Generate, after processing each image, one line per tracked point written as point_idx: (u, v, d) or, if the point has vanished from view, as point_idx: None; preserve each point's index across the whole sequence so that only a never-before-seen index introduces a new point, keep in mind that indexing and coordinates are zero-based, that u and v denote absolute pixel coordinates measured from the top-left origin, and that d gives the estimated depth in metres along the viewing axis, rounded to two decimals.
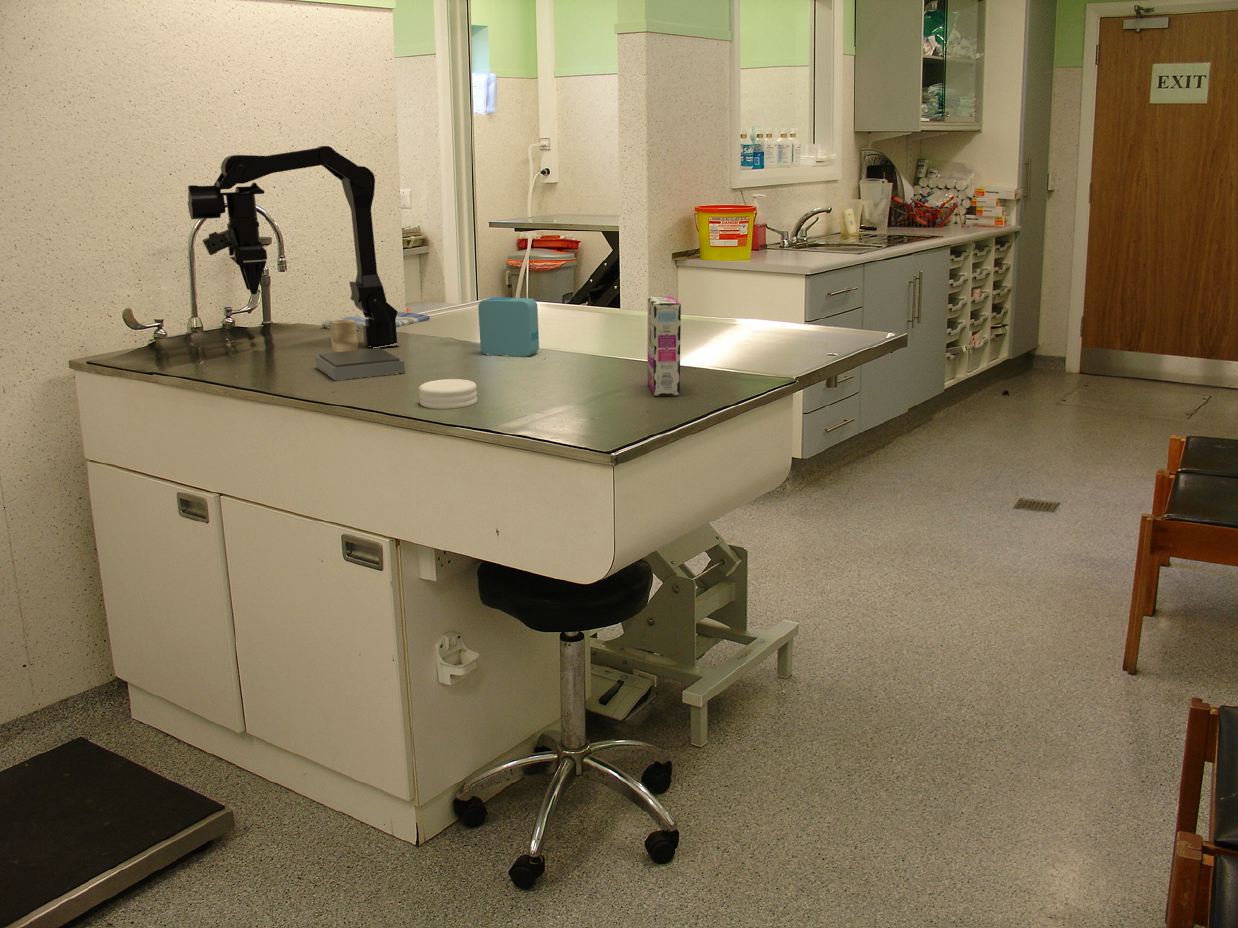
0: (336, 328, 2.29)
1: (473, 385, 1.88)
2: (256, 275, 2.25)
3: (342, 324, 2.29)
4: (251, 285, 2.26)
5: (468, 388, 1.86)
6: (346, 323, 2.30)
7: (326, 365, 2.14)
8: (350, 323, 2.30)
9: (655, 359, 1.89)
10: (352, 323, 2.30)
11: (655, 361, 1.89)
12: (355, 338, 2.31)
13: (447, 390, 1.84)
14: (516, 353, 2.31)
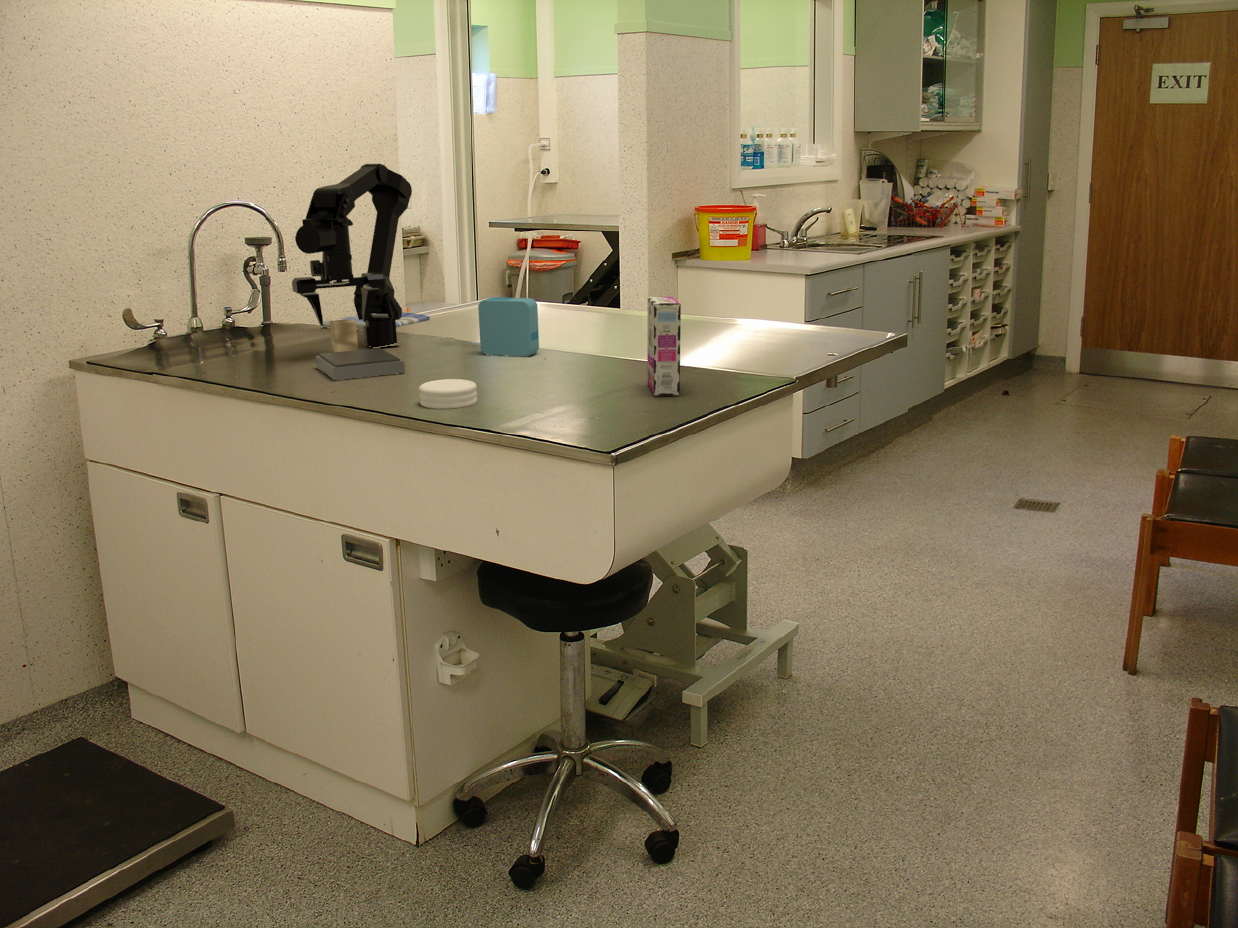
0: (336, 328, 2.29)
1: (473, 385, 1.88)
2: (314, 307, 2.27)
3: (342, 324, 2.29)
4: (316, 316, 2.29)
5: (468, 388, 1.86)
6: (346, 323, 2.30)
7: (326, 365, 2.14)
8: (350, 323, 2.30)
9: (655, 359, 1.89)
10: (352, 323, 2.30)
11: (655, 361, 1.89)
12: (355, 338, 2.31)
13: (447, 390, 1.84)
14: (516, 353, 2.31)
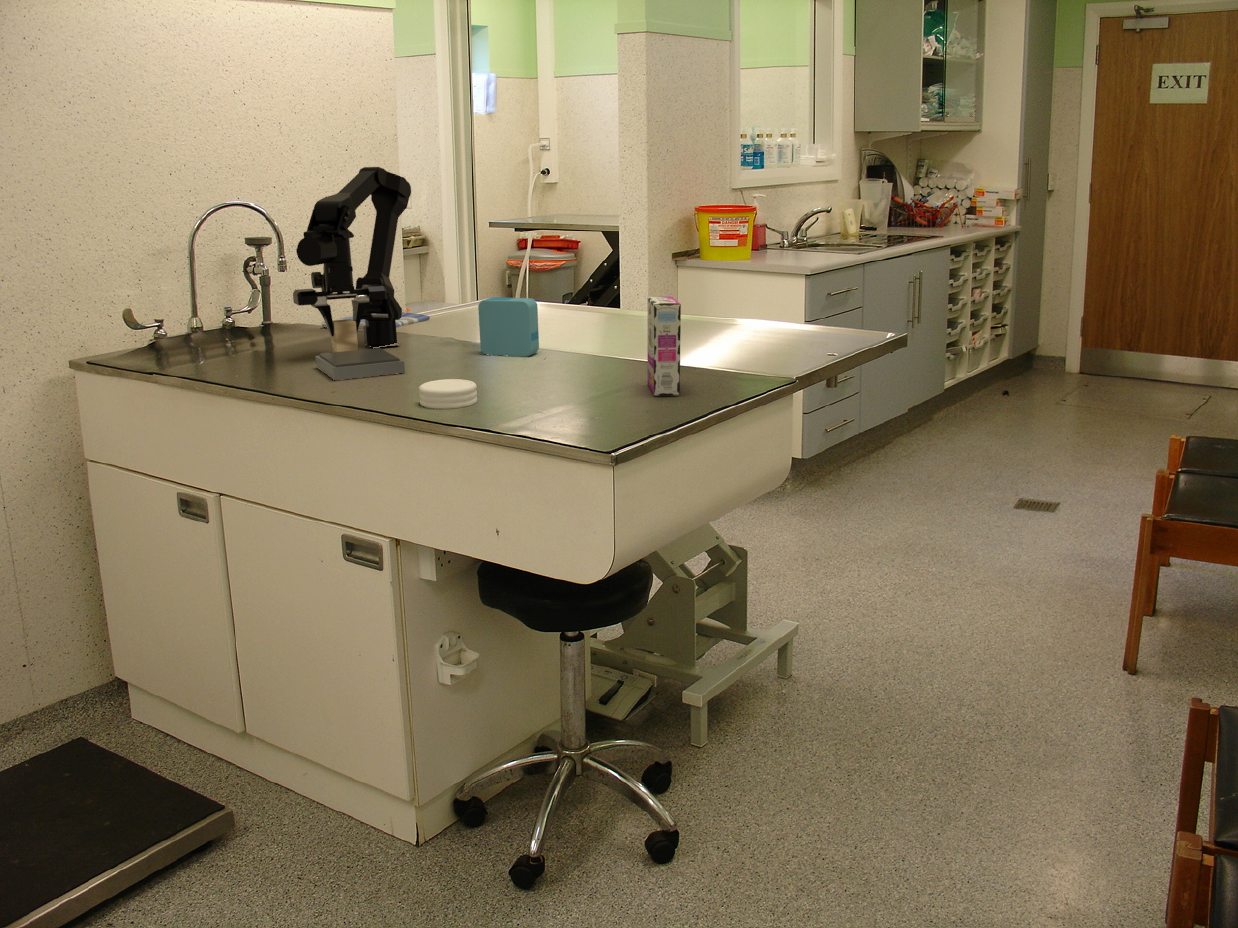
0: (336, 328, 2.29)
1: (473, 385, 1.88)
2: (325, 318, 2.29)
3: (342, 324, 2.29)
4: None
5: (468, 388, 1.86)
6: (346, 323, 2.30)
7: (326, 365, 2.14)
8: (350, 323, 2.30)
9: (655, 359, 1.89)
10: (352, 323, 2.30)
11: (655, 361, 1.89)
12: (355, 338, 2.31)
13: (447, 390, 1.84)
14: (516, 353, 2.31)
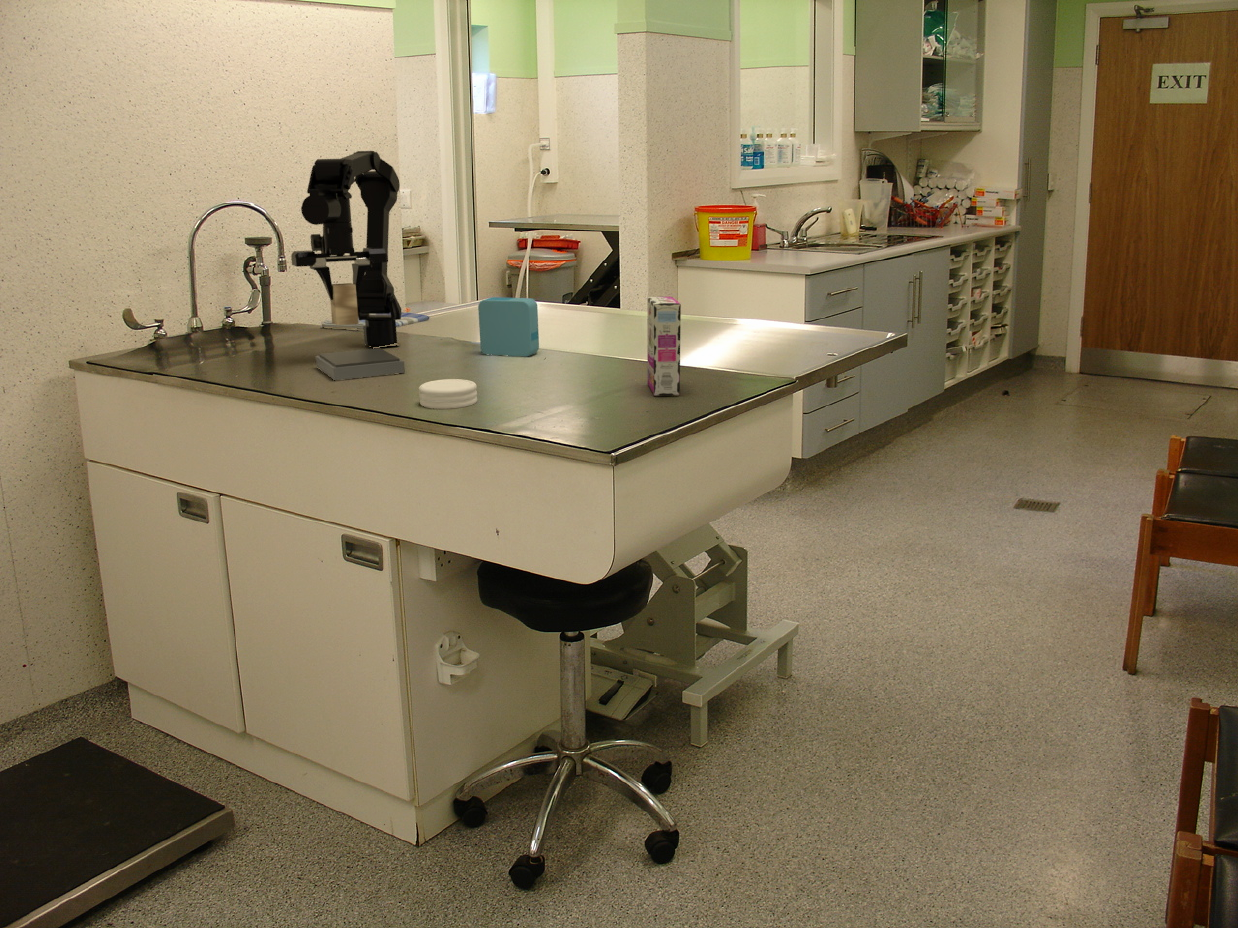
0: (335, 291, 2.22)
1: (473, 385, 1.88)
2: (324, 281, 2.22)
3: (341, 287, 2.23)
4: (326, 290, 2.24)
5: (468, 388, 1.86)
6: (345, 286, 2.23)
7: (326, 365, 2.14)
8: (350, 286, 2.23)
9: (655, 359, 1.89)
10: (352, 286, 2.24)
11: (655, 361, 1.89)
12: (355, 302, 2.25)
13: (447, 390, 1.84)
14: (516, 353, 2.31)
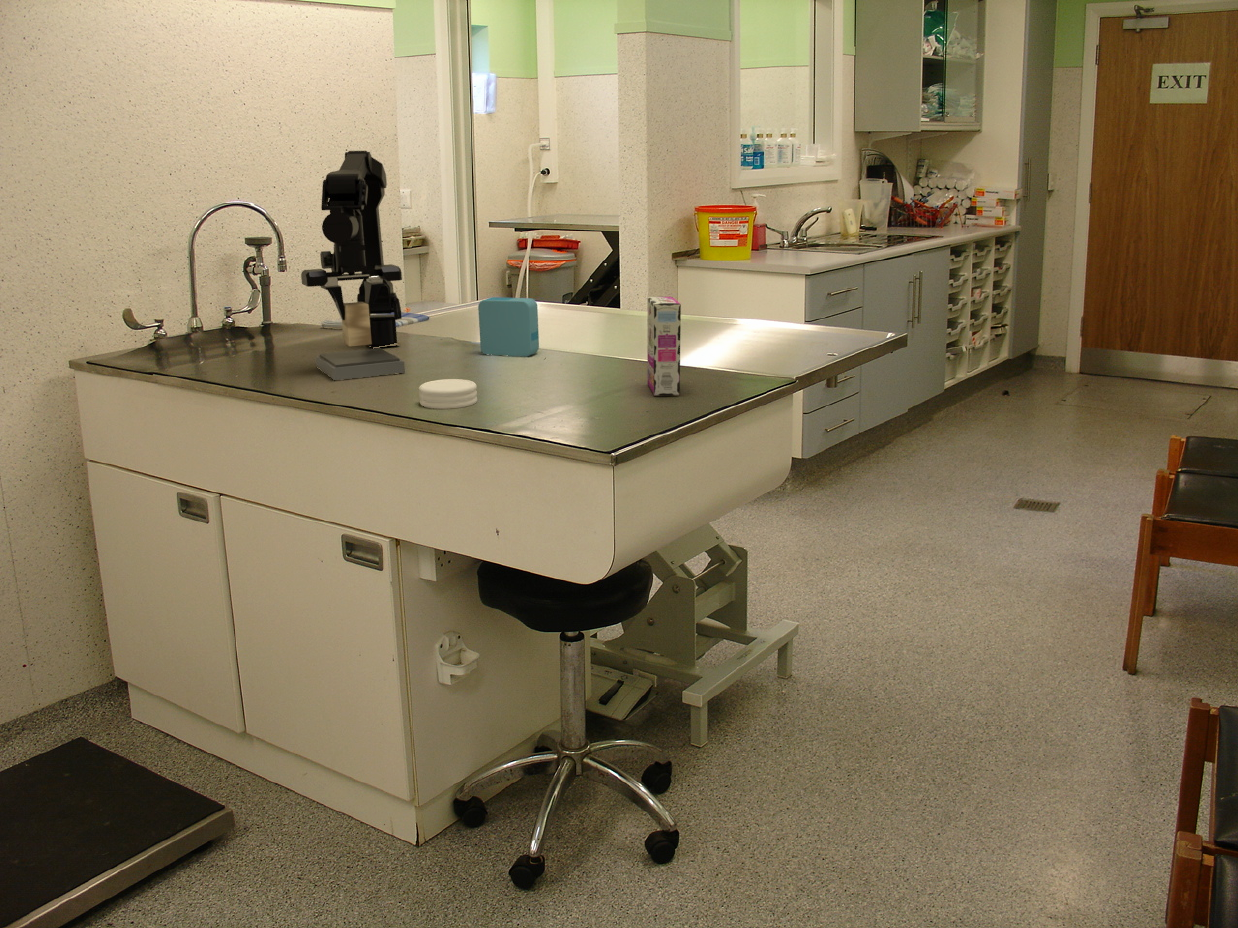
0: (347, 311, 2.13)
1: (473, 385, 1.88)
2: (336, 301, 2.13)
3: (354, 307, 2.14)
4: (338, 310, 2.15)
5: (468, 388, 1.86)
6: (358, 305, 2.14)
7: (326, 365, 2.14)
8: (362, 306, 2.14)
9: (655, 359, 1.89)
10: (364, 306, 2.15)
11: (655, 361, 1.89)
12: (368, 322, 2.16)
13: (447, 390, 1.84)
14: (516, 353, 2.31)
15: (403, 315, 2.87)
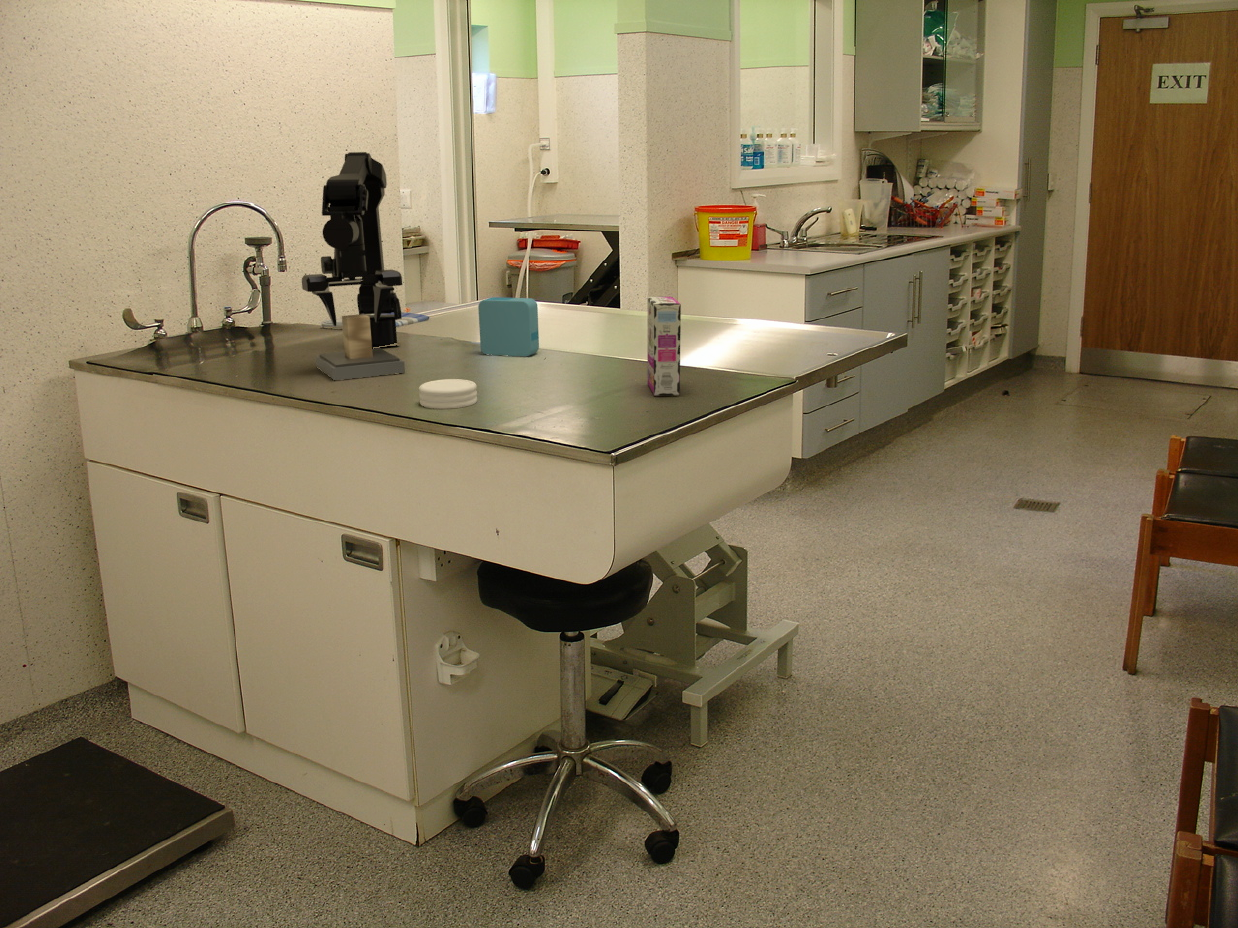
0: (348, 323, 2.14)
1: (473, 385, 1.88)
2: (327, 306, 2.13)
3: (355, 319, 2.14)
4: (329, 316, 2.14)
5: (468, 388, 1.86)
6: (359, 318, 2.15)
7: (326, 365, 2.14)
8: (363, 318, 2.15)
9: (655, 359, 1.89)
10: (365, 318, 2.15)
11: (655, 361, 1.89)
12: (369, 334, 2.16)
13: (447, 390, 1.84)
14: (516, 353, 2.31)
15: (403, 315, 2.87)
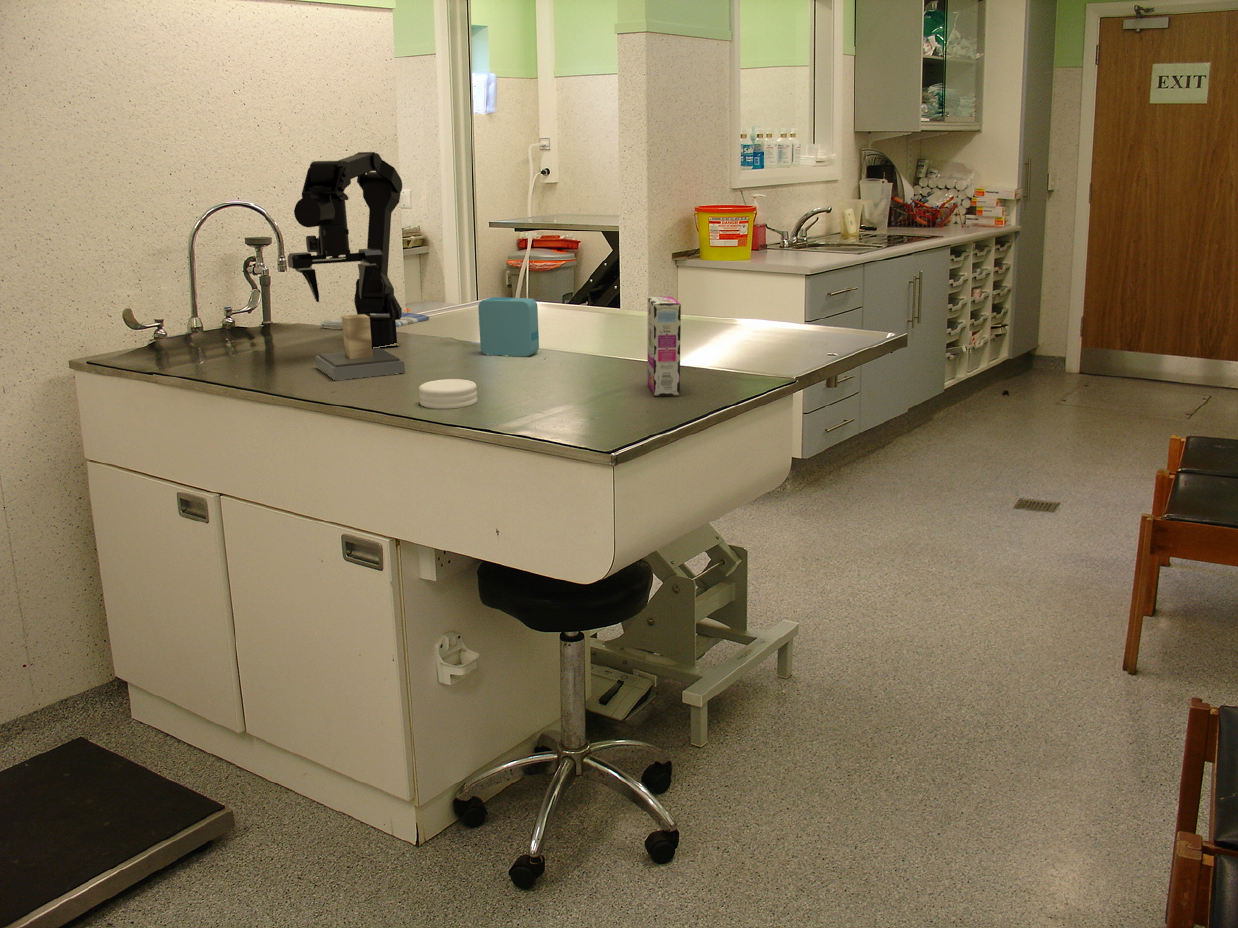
0: (348, 323, 2.14)
1: (473, 385, 1.88)
2: (310, 283, 2.22)
3: (355, 319, 2.14)
4: (312, 292, 2.24)
5: (468, 388, 1.86)
6: (359, 318, 2.15)
7: (326, 365, 2.14)
8: (363, 318, 2.15)
9: (655, 359, 1.89)
10: (365, 318, 2.15)
11: (655, 361, 1.89)
12: (369, 334, 2.16)
13: (447, 390, 1.84)
14: (517, 353, 2.31)
15: (403, 315, 2.87)
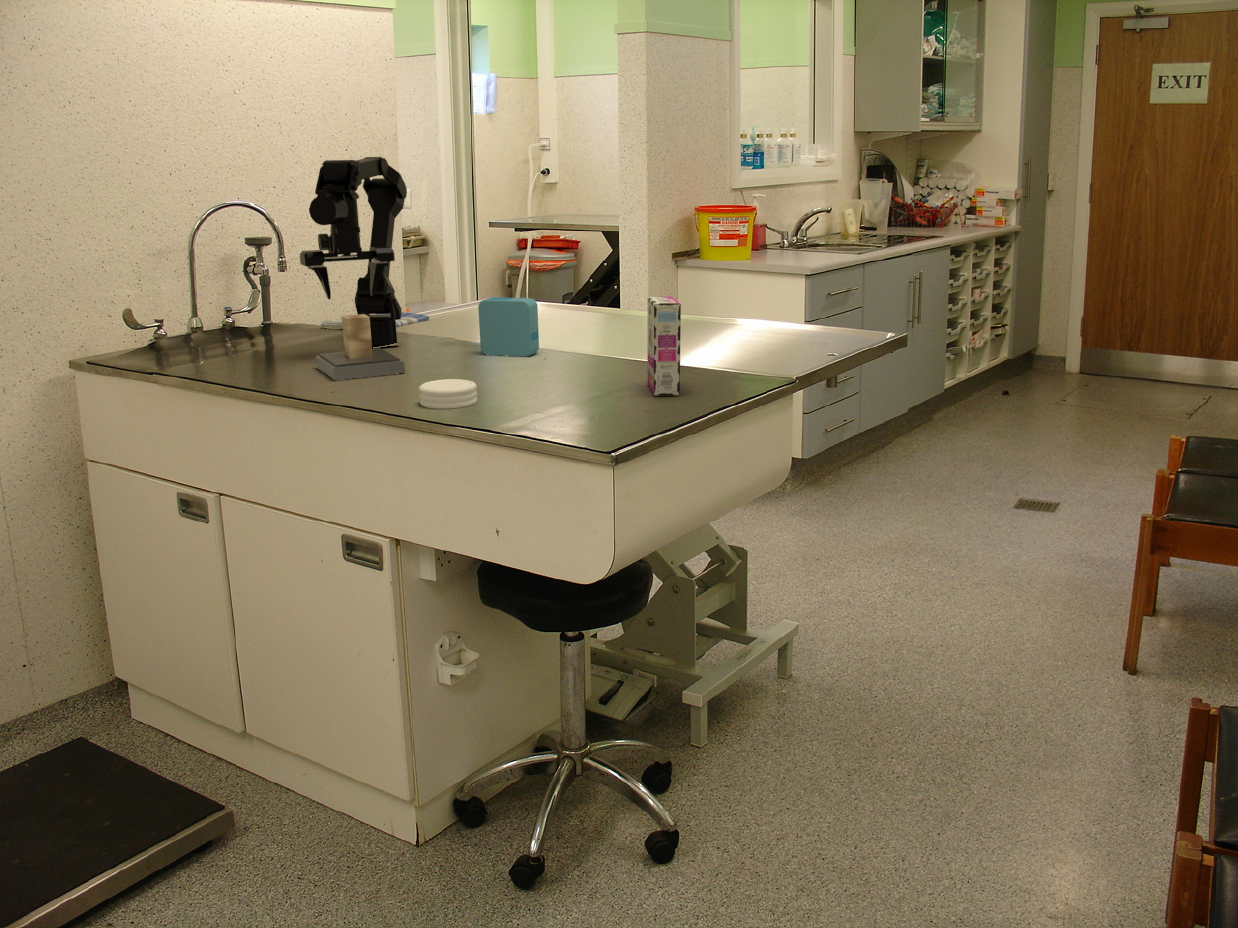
0: (348, 323, 2.14)
1: (473, 385, 1.88)
2: (322, 281, 2.26)
3: (355, 319, 2.14)
4: (324, 290, 2.27)
5: (468, 388, 1.86)
6: (359, 318, 2.15)
7: (326, 365, 2.14)
8: (363, 318, 2.15)
9: (655, 359, 1.89)
10: (365, 318, 2.15)
11: (655, 361, 1.89)
12: (369, 334, 2.16)
13: (447, 390, 1.84)
14: (517, 353, 2.31)
15: (403, 315, 2.87)
